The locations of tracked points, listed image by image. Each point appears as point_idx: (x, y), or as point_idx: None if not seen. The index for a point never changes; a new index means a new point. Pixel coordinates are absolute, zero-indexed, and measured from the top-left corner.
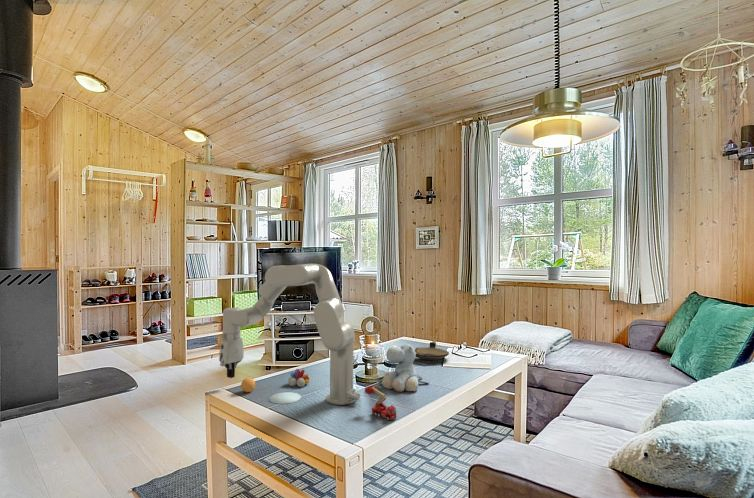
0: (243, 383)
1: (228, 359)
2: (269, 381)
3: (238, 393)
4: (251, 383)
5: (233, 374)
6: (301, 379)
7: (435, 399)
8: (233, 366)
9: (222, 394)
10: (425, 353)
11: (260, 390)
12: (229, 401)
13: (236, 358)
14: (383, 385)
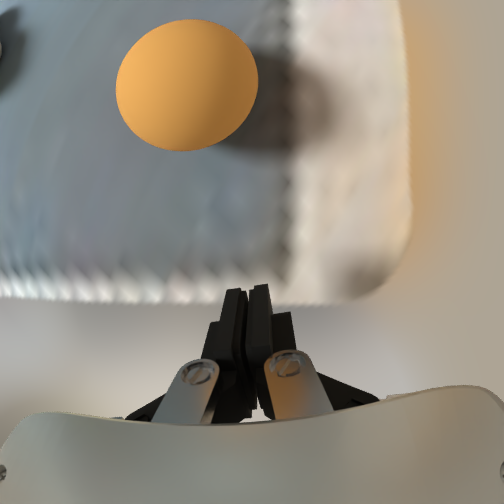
0: (246, 58)
1: (478, 460)
2: (17, 210)
3: (272, 119)
4: (181, 20)
5: (238, 304)
6: None
7: None
8: (222, 385)
9: (365, 196)
10: None
11: None
12: (397, 41)
13: (157, 484)
14: None
